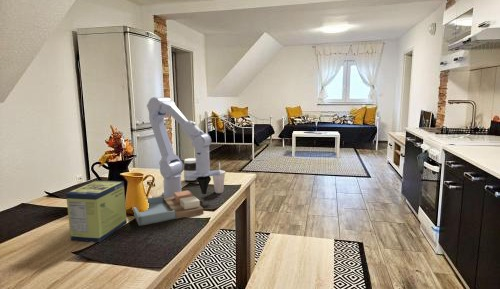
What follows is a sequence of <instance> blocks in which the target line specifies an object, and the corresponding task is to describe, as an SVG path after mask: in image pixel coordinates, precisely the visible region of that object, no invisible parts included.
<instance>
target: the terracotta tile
mask: <svg viewBox="0 0 500 289" xmlns="http://www.w3.org/2000/svg"><path fill="white" fill-rule="evenodd" d="M193 196H194V195H193V193H192V192H191V191H190V190H181V192H174V198H175V199H176V201H177V202H180V199H181V198H187V197H193Z"/></svg>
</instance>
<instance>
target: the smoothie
mask: <svg viewBox="0 0 500 289" xmlns="http://www.w3.org/2000/svg"><path fill="white" fill-rule="evenodd" d="M218 170H219V171H220V175H219V176H217V175H216V176H212V180H213V187H214V192H215V193H216V194H222V193H224V187H225V186H224V185H225V175H226V170H223V169H221V162H218Z"/></svg>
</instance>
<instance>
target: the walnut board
mask: <svg viewBox="0 0 500 289" xmlns="http://www.w3.org/2000/svg"><path fill="white" fill-rule="evenodd" d="M163 200H164V203H165V205H166V206H167V207H168V209H169V210H170V211H173V210H175V216H176V219H177V220H178V219H183V218H188V217H192V216H198V215H202V214H204V207H203V206H201V205H200V207H195V208H190V209H184V208H183V207H182V206H181V205H180V202H177V201H176V199H175V198H174V197H167V198H165V197H163ZM176 219H175V220H176Z"/></svg>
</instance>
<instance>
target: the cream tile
mask: <svg viewBox="0 0 500 289" xmlns="http://www.w3.org/2000/svg"><path fill="white" fill-rule="evenodd" d="M192 196H193V197H187V198H181V199H180V205H181V206H182V207H183V208H184V209H190V208H195V207H200V206H201V202H200V201H201V200H200V199H198V198H197V197H196V196H194V195H192Z"/></svg>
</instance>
